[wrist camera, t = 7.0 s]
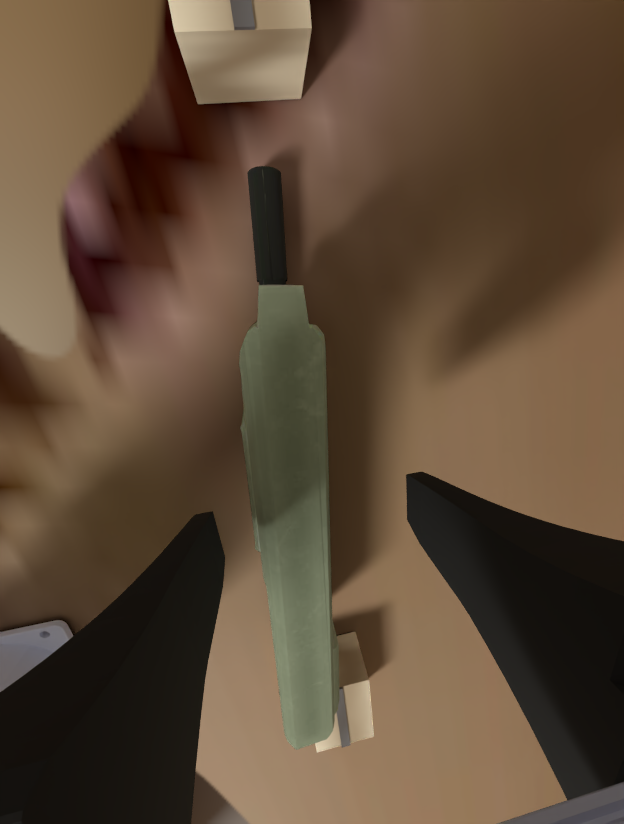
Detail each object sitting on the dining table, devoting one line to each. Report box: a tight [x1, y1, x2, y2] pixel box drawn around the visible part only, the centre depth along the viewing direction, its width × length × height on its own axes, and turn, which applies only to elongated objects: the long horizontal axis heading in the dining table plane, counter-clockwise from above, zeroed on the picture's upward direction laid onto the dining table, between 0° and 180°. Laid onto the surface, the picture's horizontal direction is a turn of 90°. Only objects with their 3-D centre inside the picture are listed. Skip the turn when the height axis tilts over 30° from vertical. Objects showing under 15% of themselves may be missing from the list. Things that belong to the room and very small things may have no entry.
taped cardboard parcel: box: [168, 0, 374, 752], centre depth 15 cm, size 4×42×3 cm, turn 7°
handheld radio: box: [239, 166, 340, 750], centre depth 13 cm, size 7×3×25 cm
